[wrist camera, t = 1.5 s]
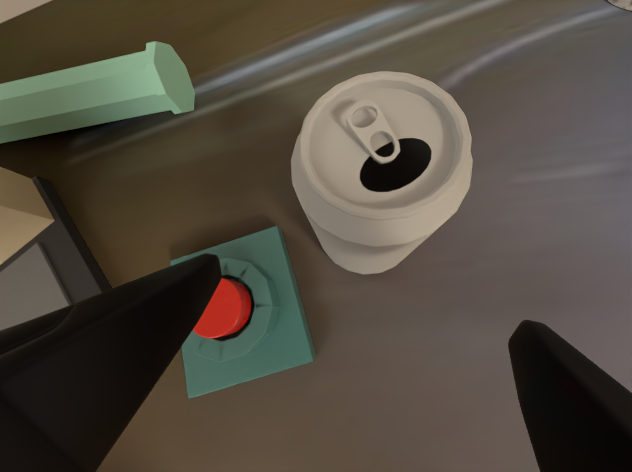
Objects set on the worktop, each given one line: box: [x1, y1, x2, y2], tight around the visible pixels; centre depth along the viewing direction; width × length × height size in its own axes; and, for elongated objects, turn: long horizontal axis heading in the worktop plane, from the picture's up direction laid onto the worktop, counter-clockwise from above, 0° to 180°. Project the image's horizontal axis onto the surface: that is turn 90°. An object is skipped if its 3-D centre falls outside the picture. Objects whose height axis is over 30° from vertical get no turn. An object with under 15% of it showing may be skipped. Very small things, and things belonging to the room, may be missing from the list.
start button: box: [193, 278, 251, 338], centre depth 17 cm, size 4×4×2 cm
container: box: [0, 41, 195, 144], centre depth 25 cm, size 6×6×25 cm
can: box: [291, 71, 473, 274], centre depth 15 cm, size 8×8×12 cm
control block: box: [170, 226, 316, 399], centre depth 19 cm, size 10×9×4 cm
